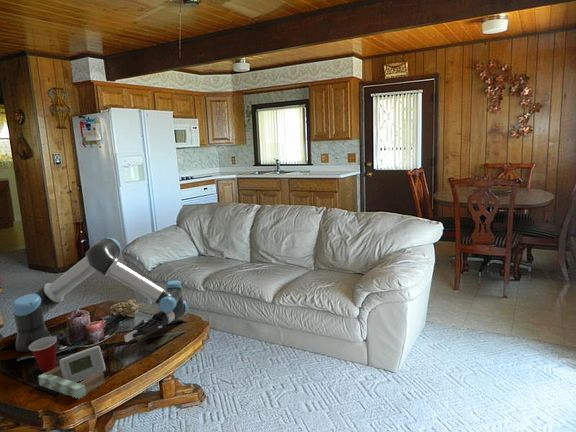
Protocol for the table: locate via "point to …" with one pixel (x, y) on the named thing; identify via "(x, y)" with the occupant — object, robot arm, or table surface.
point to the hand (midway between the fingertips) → (125, 338)
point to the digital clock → (82, 364)
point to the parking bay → (70, 383)
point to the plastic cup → (44, 352)
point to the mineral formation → (125, 308)
